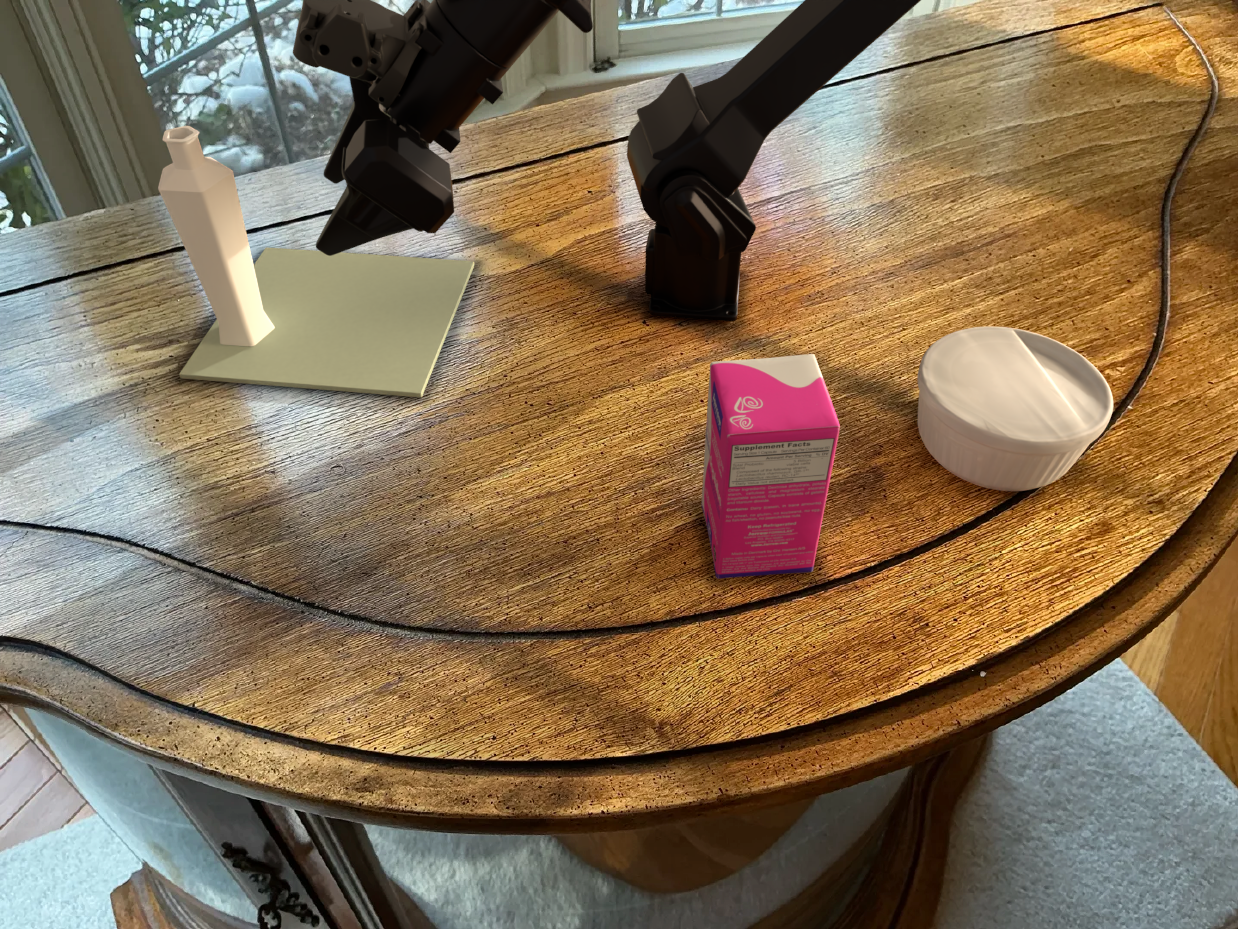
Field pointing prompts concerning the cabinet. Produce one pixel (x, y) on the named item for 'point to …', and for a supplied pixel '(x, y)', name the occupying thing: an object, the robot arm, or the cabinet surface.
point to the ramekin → (1009, 406)
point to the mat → (342, 323)
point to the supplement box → (767, 464)
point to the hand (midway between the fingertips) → (325, 213)
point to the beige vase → (214, 236)
